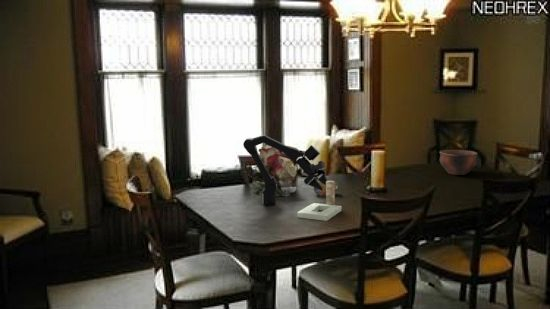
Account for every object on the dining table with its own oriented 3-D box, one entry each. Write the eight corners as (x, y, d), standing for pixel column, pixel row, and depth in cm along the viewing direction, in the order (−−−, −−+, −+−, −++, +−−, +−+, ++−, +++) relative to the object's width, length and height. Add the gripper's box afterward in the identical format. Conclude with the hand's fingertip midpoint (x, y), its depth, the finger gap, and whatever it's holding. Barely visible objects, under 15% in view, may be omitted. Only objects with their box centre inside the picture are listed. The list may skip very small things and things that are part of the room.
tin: (314, 196, 310) (314, 182, 308) (313, 195, 313) (312, 181, 311) (339, 194, 312) (339, 180, 311) (337, 193, 315) (337, 179, 314)
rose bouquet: (293, 197, 307) (292, 146, 302) (246, 195, 317) (244, 145, 312) (305, 187, 331) (304, 140, 326) (261, 185, 341) (260, 139, 336)
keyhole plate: (326, 220, 260) (326, 215, 259) (297, 217, 267) (297, 212, 267) (341, 210, 277) (341, 206, 276) (313, 207, 284) (313, 203, 284)
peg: (328, 208, 282) (327, 182, 279) (324, 206, 286) (324, 181, 284) (335, 207, 283) (335, 182, 281) (332, 205, 287) (332, 180, 285)
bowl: (480, 171, 366) (481, 150, 363) (472, 178, 345) (473, 155, 343) (443, 168, 379) (444, 148, 376) (434, 175, 358) (434, 153, 356)
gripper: (308, 159, 276) (328, 181, 272) (322, 153, 292) (341, 174, 289) (295, 173, 281) (315, 195, 277) (310, 167, 297) (328, 187, 293)
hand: (325, 187), depth 284 cm, fingers open, 9 cm apart
